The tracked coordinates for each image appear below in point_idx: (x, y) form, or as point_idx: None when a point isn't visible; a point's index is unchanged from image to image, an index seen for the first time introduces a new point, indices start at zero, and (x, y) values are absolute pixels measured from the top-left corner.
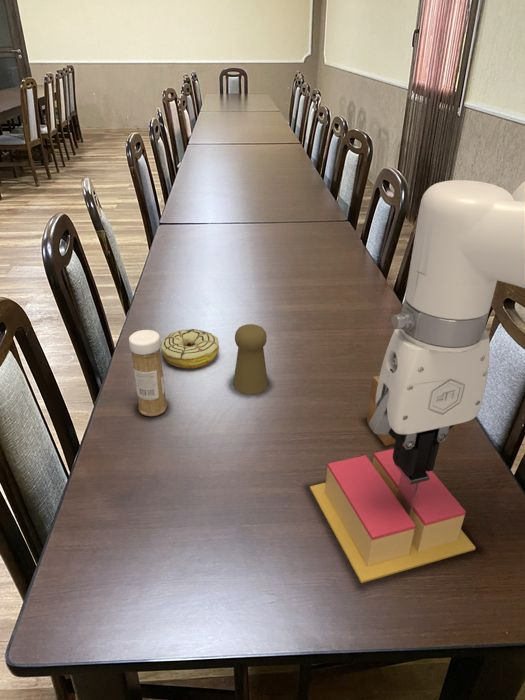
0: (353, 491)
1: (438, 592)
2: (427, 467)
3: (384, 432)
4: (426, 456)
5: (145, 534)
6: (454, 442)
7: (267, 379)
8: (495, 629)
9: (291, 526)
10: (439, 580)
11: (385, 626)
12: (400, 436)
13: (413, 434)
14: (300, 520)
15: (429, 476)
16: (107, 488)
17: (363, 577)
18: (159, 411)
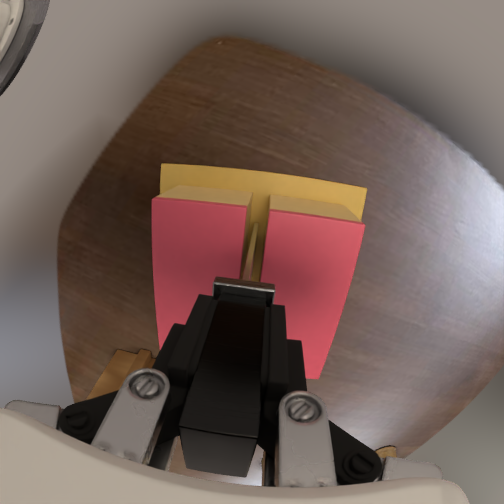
0: (323, 323)
1: (267, 122)
2: (215, 307)
3: (401, 469)
4: (218, 340)
5: (484, 340)
6: (90, 326)
7: (262, 463)
8: (230, 50)
9: (384, 306)
10: (252, 138)
11: (373, 119)
12: (337, 448)
13: (299, 454)
14: (369, 311)
15: (213, 283)
16: (468, 388)
17: (360, 192)
18: (384, 450)
